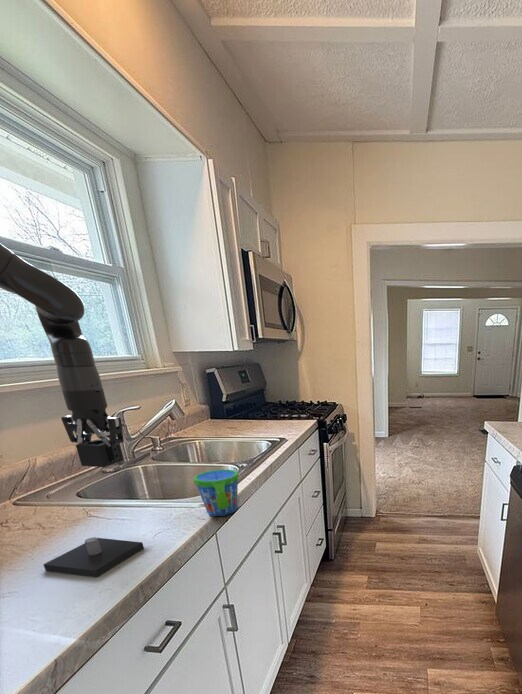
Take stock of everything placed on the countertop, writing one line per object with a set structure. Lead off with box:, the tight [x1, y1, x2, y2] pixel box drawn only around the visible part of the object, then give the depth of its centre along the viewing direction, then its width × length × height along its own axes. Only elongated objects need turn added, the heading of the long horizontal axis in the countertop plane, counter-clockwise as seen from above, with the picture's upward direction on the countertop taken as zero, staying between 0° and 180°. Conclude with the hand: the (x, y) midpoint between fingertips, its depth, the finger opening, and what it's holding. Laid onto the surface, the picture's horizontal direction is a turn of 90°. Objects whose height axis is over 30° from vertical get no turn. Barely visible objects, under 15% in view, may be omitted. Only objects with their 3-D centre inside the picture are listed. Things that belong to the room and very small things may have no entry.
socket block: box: [75, 438, 124, 468], centre depth 95 cm, size 6×6×5 cm
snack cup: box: [193, 469, 240, 517], centre depth 104 cm, size 16×10×10 cm
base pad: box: [42, 536, 145, 578], centre depth 82 cm, size 12×12×4 cm
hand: (102, 460), depth 95 cm, fingers closed on socket block, 6 cm apart
